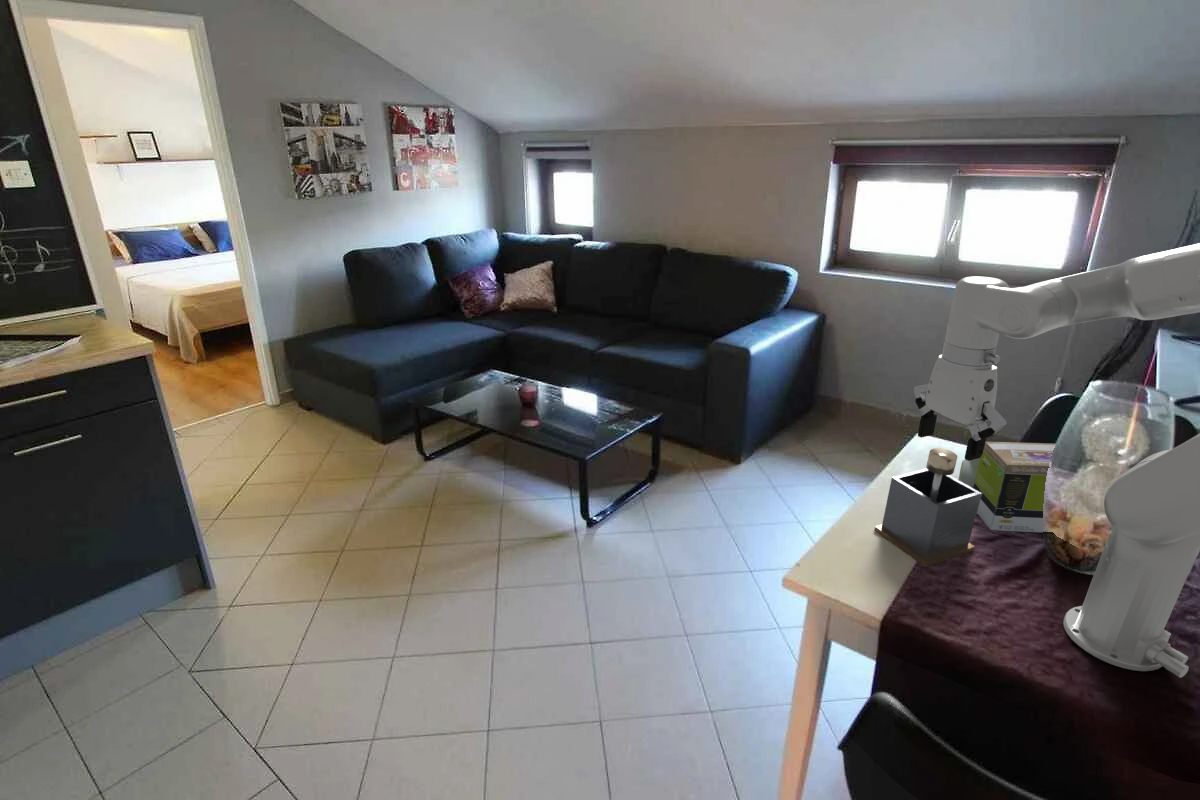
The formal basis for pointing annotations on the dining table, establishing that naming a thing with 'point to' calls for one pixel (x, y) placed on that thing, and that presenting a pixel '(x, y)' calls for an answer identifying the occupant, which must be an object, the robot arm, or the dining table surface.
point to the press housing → (929, 517)
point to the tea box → (1013, 485)
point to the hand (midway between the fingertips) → (948, 446)
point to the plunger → (940, 467)
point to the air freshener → (969, 471)
